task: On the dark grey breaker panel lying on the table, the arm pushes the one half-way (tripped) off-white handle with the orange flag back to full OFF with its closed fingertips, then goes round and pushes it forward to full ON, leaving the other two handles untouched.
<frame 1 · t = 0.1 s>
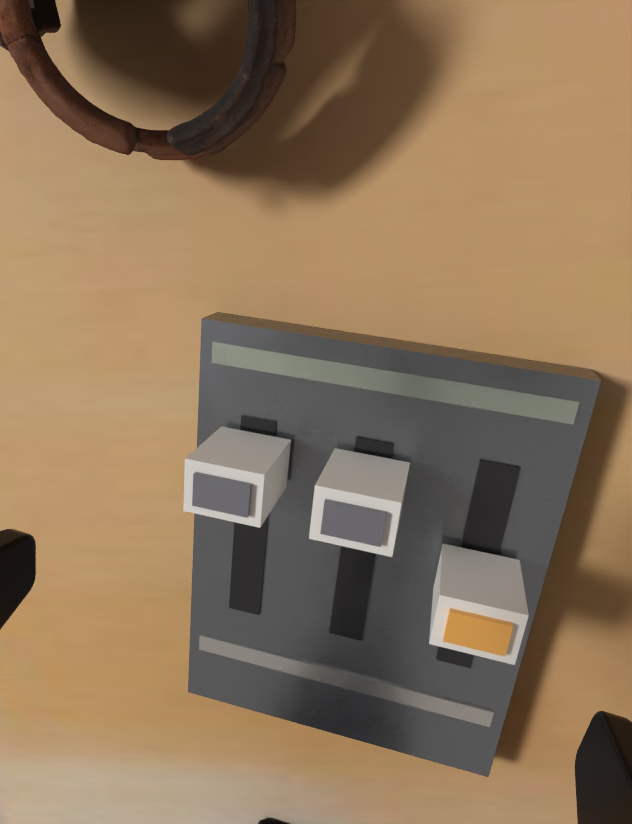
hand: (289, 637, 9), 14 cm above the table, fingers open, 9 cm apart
breaker 2: (361, 500, 20), point 4 cm above the table, slide at 3.0 cm
panel: (362, 545, 25), on the table
breaker 1: (476, 601, 20), point 4 cm above the table, slide at 0.0 cm
breaker 3: (238, 474, 21), point 4 cm above the table, slide at 3.0 cm
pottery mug: (154, 10, 20), on the table
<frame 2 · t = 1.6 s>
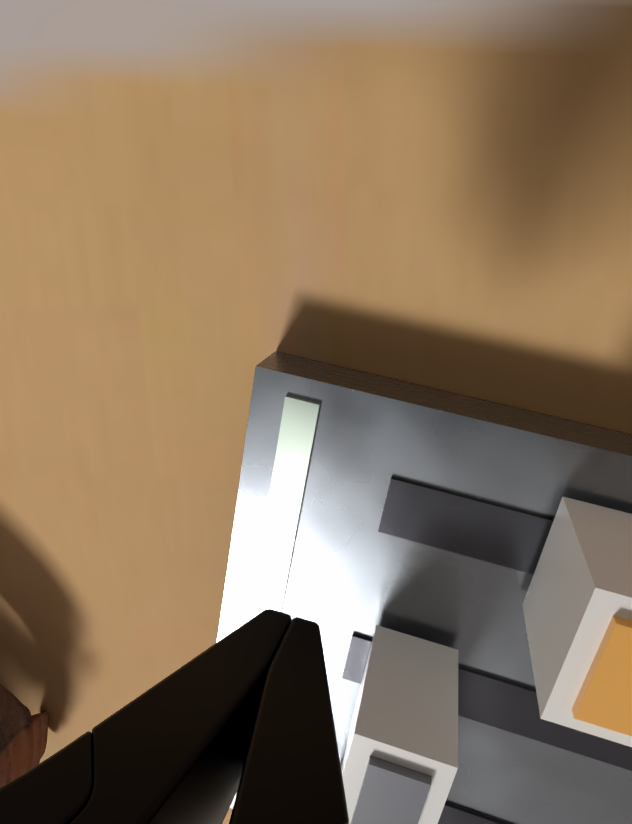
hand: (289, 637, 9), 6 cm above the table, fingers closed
breaker 2: (397, 738, 13), point 4 cm above the table, slide at 3.0 cm
panel: (557, 678, 16), on the table
breaker 1: (608, 616, 11), point 4 cm above the table, slide at 0.0 cm
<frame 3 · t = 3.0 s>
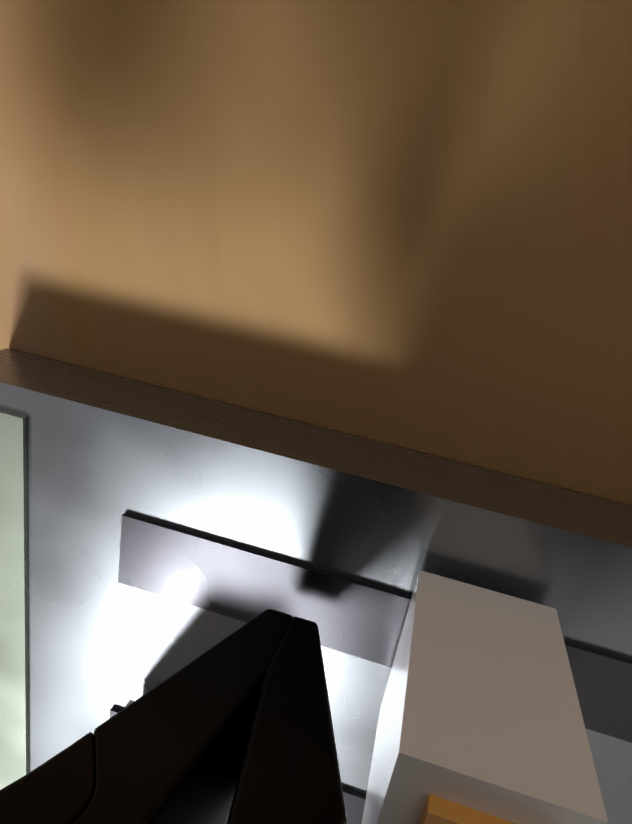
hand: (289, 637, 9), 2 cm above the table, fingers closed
panel: (384, 757, 12), on the table
breaker 1: (462, 755, 8), point 3 cm above the table, slide at -1.5 cm, touching gripper
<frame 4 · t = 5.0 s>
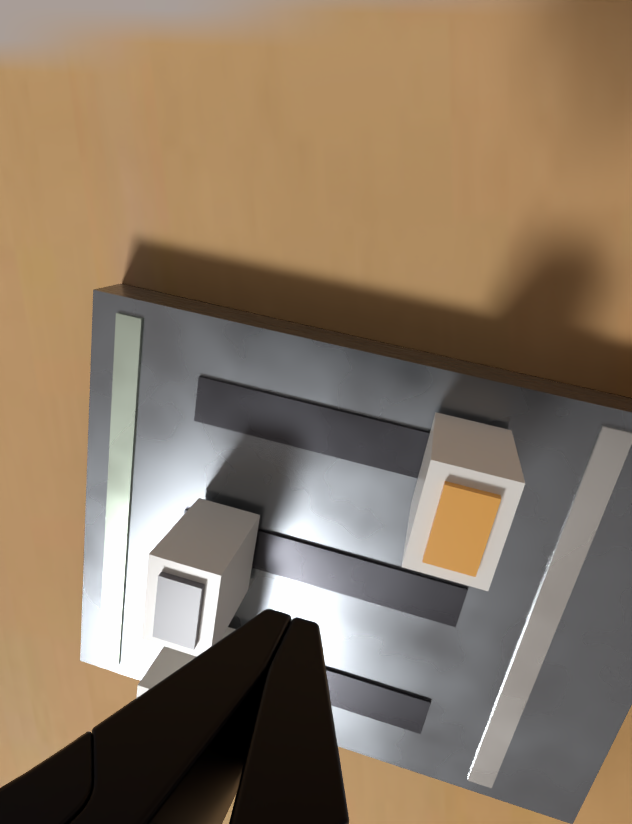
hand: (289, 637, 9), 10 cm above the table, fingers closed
breaker 2: (202, 575, 17), point 4 cm above the table, slide at 3.0 cm
panel: (356, 548, 19), on the table
breaker 1: (459, 496, 14), point 4 cm above the table, slide at -3.3 cm
breaker 3: (187, 692, 18), point 4 cm above the table, slide at 3.0 cm
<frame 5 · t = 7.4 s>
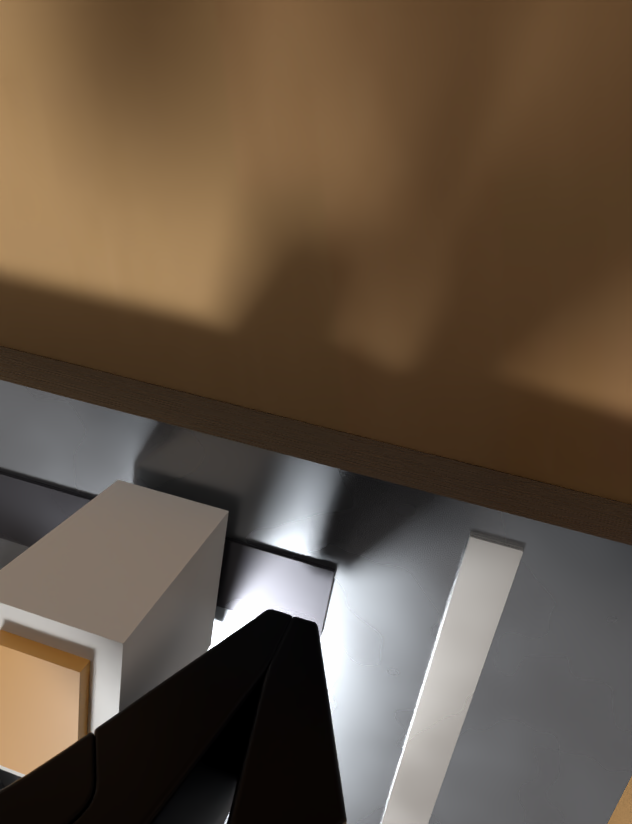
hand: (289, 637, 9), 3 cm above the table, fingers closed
panel: (163, 675, 14), on the table
breaker 1: (111, 628, 9), point 4 cm above the table, slide at -1.6 cm, touching gripper
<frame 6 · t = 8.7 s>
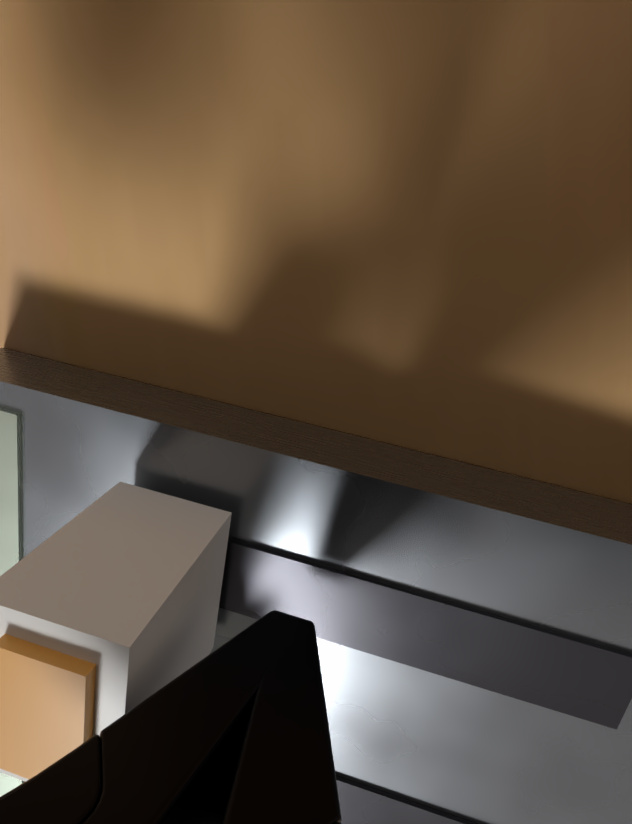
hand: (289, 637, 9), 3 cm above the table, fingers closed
panel: (370, 745, 13), on the table
breaker 1: (115, 631, 9), point 4 cm above the table, slide at 3.3 cm, touching gripper
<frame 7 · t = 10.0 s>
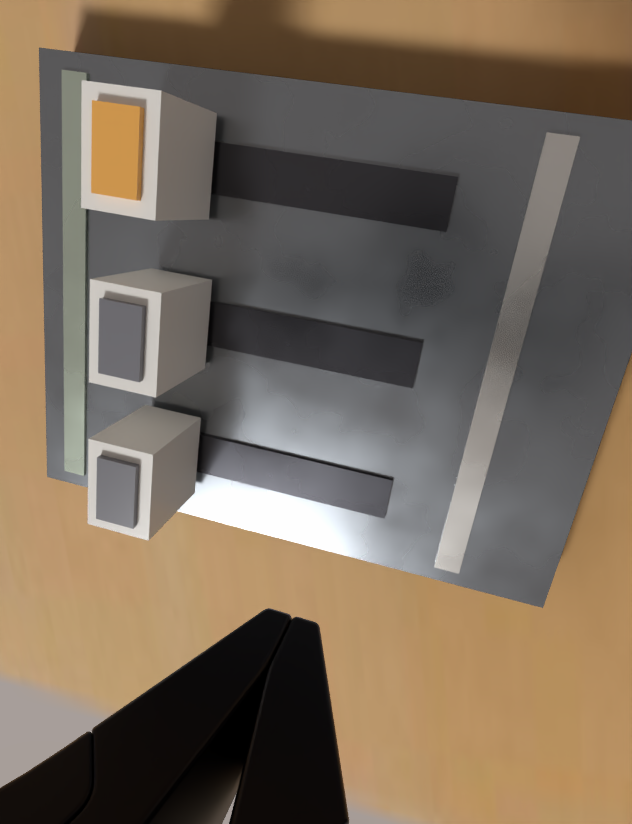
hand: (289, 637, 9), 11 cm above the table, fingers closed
breaker 2: (151, 329, 17), point 3 cm above the table, slide at 3.0 cm
panel: (315, 332, 19), on the table
breaker 1: (150, 157, 15), point 3 cm above the table, slide at 3.3 cm
breaker 3: (145, 469, 18), point 4 cm above the table, slide at 3.0 cm
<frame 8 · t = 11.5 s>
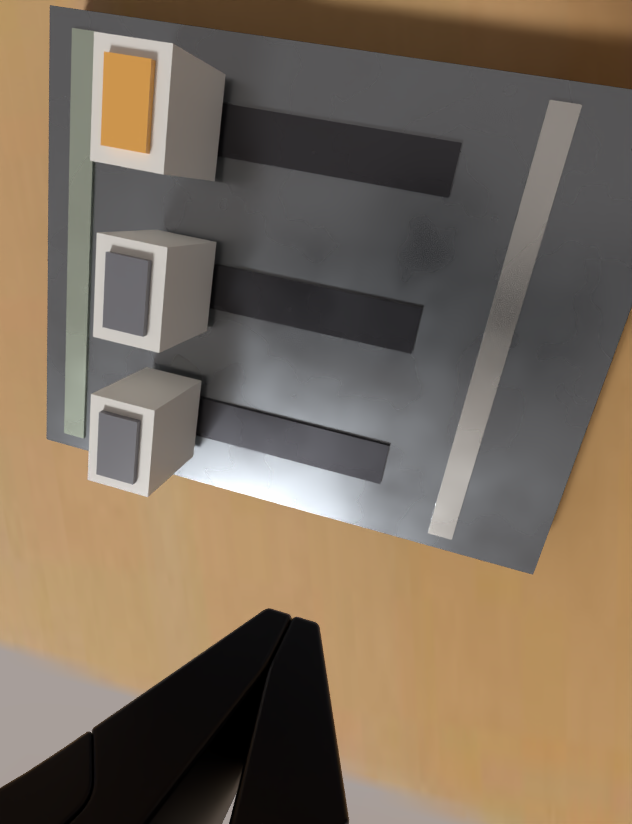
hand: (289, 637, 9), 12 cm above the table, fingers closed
breaker 2: (156, 287, 17), point 4 cm above the table, slide at 3.0 cm
panel: (316, 299, 19), on the table
breaker 1: (159, 114, 15), point 4 cm above the table, slide at 3.3 cm
breaker 3: (145, 429, 18), point 4 cm above the table, slide at 3.0 cm
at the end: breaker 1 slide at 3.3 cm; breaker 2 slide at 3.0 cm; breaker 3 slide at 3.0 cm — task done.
